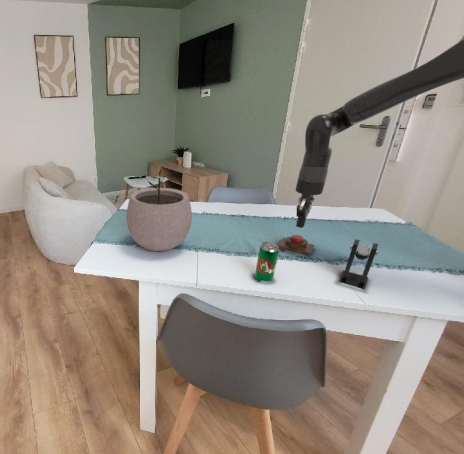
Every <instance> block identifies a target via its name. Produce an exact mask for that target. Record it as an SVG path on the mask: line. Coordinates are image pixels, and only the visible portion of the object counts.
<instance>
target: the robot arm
mask: <svg viewBox="0 0 464 454" xmlns="http://www.w3.org/2000/svg"><path fill="white" fill-rule="evenodd" d="M462 79H464V35H463V36H462V37H461V38H460V40H459V41H458V42H457V43H455V44H454V45H452V46H451V47H449V48H448V49H446V50H444V51H443V52H441V53H440V54H439V55H437V56H435V57H434V58H432V59H430V60H429V61H427V62H425V63H423V64H421V65H419V66H418V67H416V68H413V69H412V70H410V71H407V72H405V73H403V74H401V75H399V76H396V77H394V78H392V79H389V80H387V81H384V82H382V83H380V84H378V85H376V86H373V87H372V88H369V89H367V90H366V91H364V92H362V93H360V94H358V95H356V96H355V97H353V98H351V99H349V100H348V101H346V102H345V104H343V105H342V106H341V107H339V108H337V109H335V110H333V111H330V112H328V113H321V114H317V115H315V116H314V117H312V118H311V119H310V120H309V122H308V124H307V126H306V129H305V135H304V147H305V152H304V156H303V159H302V164H301V167H300V169H299V172H298V177H297V182H296V185H295V192H296V193H298V194H301V195H300V197H299V198H298V200H297V203H298V204H297V205H296V218H297V219H296V224H295V227H296V228H300V229H303V228H304V227H305V224H306V221H307V217H308V216H309V214H310V213H311V210H312V207H313V203H314V202H315V200H316V198H315V197H314V196H319V195H322V194H323V192H324V188H325V186H326V185H325V183H326V180H327V176H328V174H329V173H328V172H329V165H330V162H331V159H332V155H333V153H332V152H333V149H332V148H331V146H330V143H331V142H330V141H331V137H334V136H336V135H338V134H340V133H342V132H344V131H346V130H348V129H350V128H351V127H353V126H354V125H356V124H359V123H361V122H365V121H366V120H369V119H371V118H373V117H375V116H377V115H380V114H381V113H384V112H386V111H388V110H390V109H392V108H394V107H396V106H398V105H400V104H403V103H404V102H405V103H406V102H407V101H409V100H411V99H413V98H415V97H418V96H420V95H423V94H425V93H428V92H430V91H432V90H435V89H438V88H440V87H442V86H445V85H448V84H451V83H453V82H455V81H459V80H462Z"/></svg>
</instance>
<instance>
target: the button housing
mask: <svg viewBox="0 0 464 454" xmlns="http://www.w3.org/2000/svg"><path fill="white" fill-rule="evenodd" d="M291 237H292V235H291V236H287V237H282V239H281V240H280V241H279V242H278V243H276V244H277V245H278V246H279V247H278V248H279V251H281V252H286V251H287V252H292V253H295V254H299V255H303V256H305V257H309V256H310V255H311V253H312V251H313V250H314V248H315V244H312V243H309V242H308V240H307V239H306V238H304V239H303V242H302V243H296V242H293V241H291Z"/></svg>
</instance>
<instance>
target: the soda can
mask: <svg viewBox="0 0 464 454" xmlns="http://www.w3.org/2000/svg"><path fill="white" fill-rule="evenodd" d="M277 244H278V243H276V242H272V241H264V242H262V243H261V244H260V246H259V250H258V255H257V261H256V266H255V272H254V279H255V280H257V281H258V282H261V281H262V282H272V281H274V276H275V272H276V268H277V264H278V259H279V255H280V250H279V248H278V247H279V246H278V245H277Z"/></svg>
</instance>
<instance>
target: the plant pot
mask: <svg viewBox="0 0 464 454" xmlns="http://www.w3.org/2000/svg"><path fill="white" fill-rule="evenodd" d="M161 174H162V169H160V170H159V172H158V176H159V177H157V176H150V178H153V179H158V180H157V181H158V183H157V187H156V186H155V184H154V183H152V182H150V181H147V183H148V184H149V185H150V186H153V187H148V188H142V189H138V190H135V191H133V192H132V193H131V194H130V195H129V200H128V204H127V209H126V225H127V229H128V232H129V234H130V237H131V238H132V240H133V241H134V242H135V243H136V244H137V245H139V246H140V247H142V248H144V249H146V250H149V251H153V252H164V251H169V250H172V249H174V248H177V247H178V246H179V245H180V244H182V243H183V242H184V240H185V239H186V237H187V236H188V234H189V232H190V229H191V225H192V220H193V213H192V205H191V200H190V195H189V194H188V193H187V192H185V191H183V190H179V189H176V188H170V187H168V188H167V187H161V185H162V183H163V179H164V178H165V177H166V175H164V176H163V177H162V180H161Z"/></svg>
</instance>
